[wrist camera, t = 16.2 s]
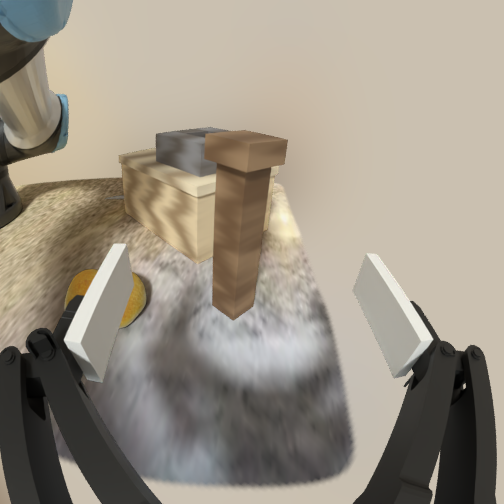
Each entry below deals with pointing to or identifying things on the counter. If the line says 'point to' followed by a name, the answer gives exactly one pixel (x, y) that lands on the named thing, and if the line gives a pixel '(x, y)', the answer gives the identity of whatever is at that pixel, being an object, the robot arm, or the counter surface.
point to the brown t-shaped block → (240, 212)
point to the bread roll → (134, 303)
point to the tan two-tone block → (177, 191)
